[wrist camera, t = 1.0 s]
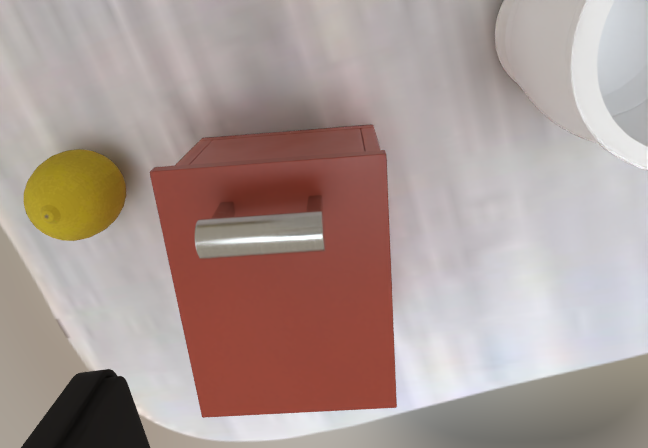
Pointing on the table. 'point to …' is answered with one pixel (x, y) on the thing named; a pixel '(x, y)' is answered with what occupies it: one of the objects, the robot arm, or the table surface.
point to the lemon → (74, 195)
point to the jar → (582, 67)
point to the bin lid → (283, 281)
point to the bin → (282, 145)
